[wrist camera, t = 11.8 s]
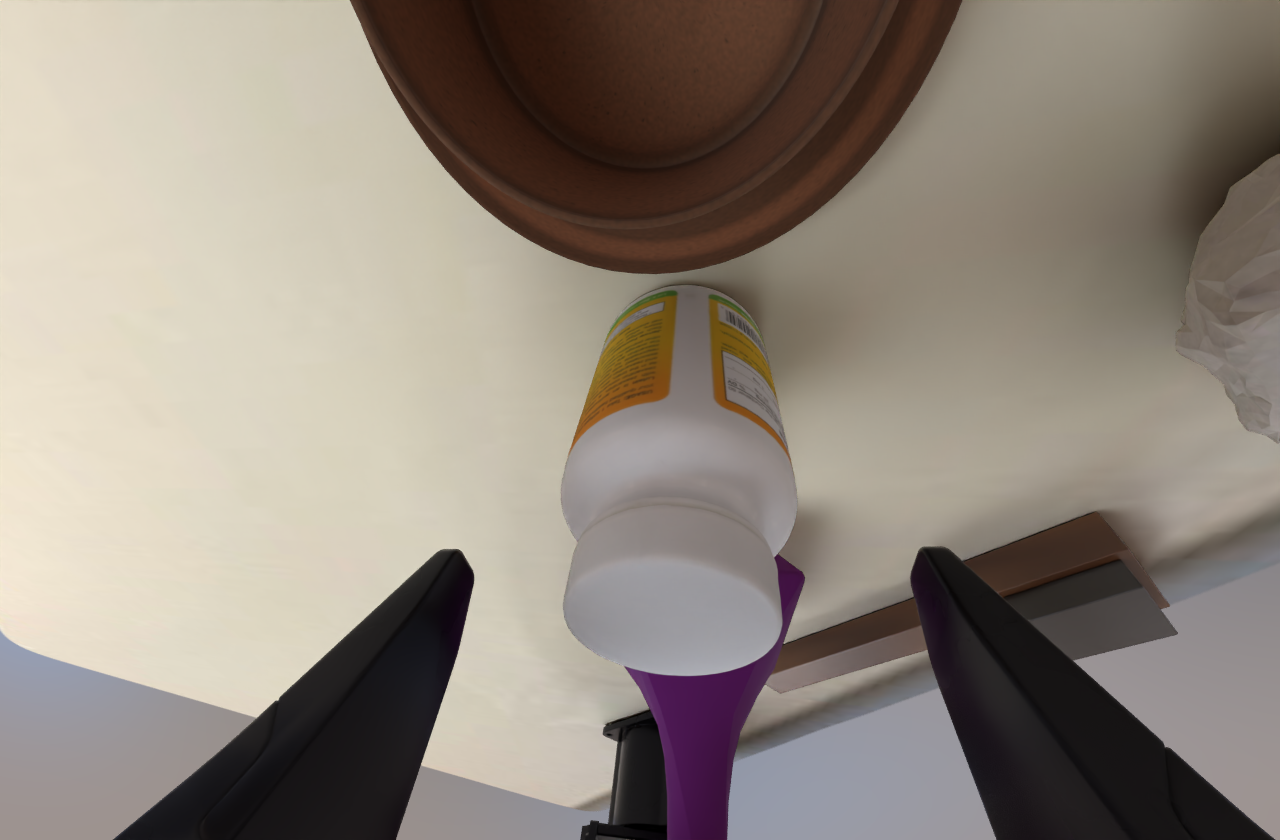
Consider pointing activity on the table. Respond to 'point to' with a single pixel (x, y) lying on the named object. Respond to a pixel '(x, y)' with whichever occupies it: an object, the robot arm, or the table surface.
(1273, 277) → the fossil replica
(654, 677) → the perfume bottle
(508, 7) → the cup and saucer
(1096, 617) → the hairbrush
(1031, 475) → the table surface
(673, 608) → the supplement bottle
